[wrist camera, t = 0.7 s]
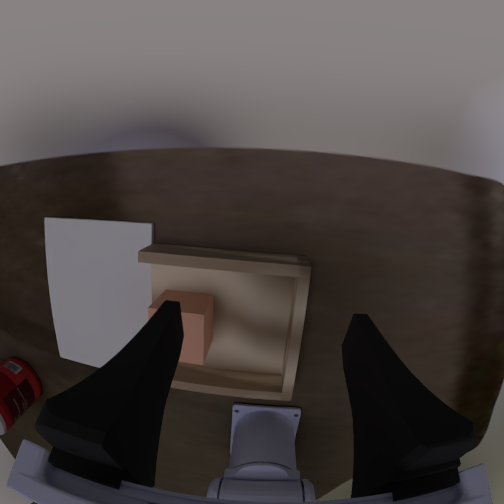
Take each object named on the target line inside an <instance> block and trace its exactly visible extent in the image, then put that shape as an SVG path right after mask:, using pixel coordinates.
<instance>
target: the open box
mask: <svg viewBox="0 0 504 504" xmlns="http://www.w3.org/2000/svg"><path fill="white" fill-rule="evenodd" d="M138 262H141V263H150V264H151V280H152V303H153V302H154V301H155V300H156V299H157V298H158V297H159V296H160V295H161V293H162V292H163V291H164V290H165V289H166V290H174V291H183V292H192V293H201V294H210V295H214V312H213V340H212V343H211V346H210V348H209V351H208V354H207V356H206V359H205V362H204V365H199V364H192V363H185V362H179V361H178V365H177V368H176V371H175V374H174V377H173V381H172V384H171V388H177V389H183V390H189V391H196V392H202V393H210V394H217V395H226V396H235V397H245V398H256V399H268V400H284V401H291V398H292V392H293V387H294V381H295V375H296V370H297V364H298V358H299V351H300V345H301V339H302V332H303V326H304V319H305V312H306V305H307V298H308V290H309V283H310V275H311V267H312V266H311V264H310V262H309V260H308V258H307V257H306V256H300V255H289V254H277V253H265V252H253V251H242V250H230V249H218V248H206V247H194V246H183V245H171V244H159V243H153V244H151V245H149V246H147V247H145V248H143V249H141V250H139V251H138Z"/></svg>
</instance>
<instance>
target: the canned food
mask: <svg viewBox="0 0 504 504" xmlns="http://www.w3.org/2000/svg"><path fill="white" fill-rule="evenodd" d="M40 394H41V384H40V381H39V379H38V377H37V375H36V373H35V372H34V371H33V369H32V368H31V367H30V366H29V365H28V364H27V363H25V362H24V361H23V360H21V359H19V358H10V359H8V360H6V361H5V362H4V363H2V364H1V365H0V435H3V434H4V433H5V432H6V431H7V430H8V429H9V428H10V427H11V426H12V425H13V424H14V423H15V422H16V421H17V420H18V419H19V418H20V417H21V416H22V415H23V414H24V412H25V411H26V410H27V409H28V408H29V407H30V406H31V405H32V404H33V403H34V402H35V401H36V400H37V399H38V398H39V396H40Z"/></svg>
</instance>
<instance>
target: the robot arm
mask: <svg viewBox="0 0 504 504" xmlns="http://www.w3.org/2000/svg"><path fill="white" fill-rule="evenodd" d="M183 339H184V330H183V322H182V315H181V307H180V302H179V301H170V300H165V301H164V302H163V303H162V304H161V306H160V307H159V308H158V309H157V311H156V312H155V313H154V314H153V316H152V317H151V318H150V319H149V320H148V322H147V323H146V324H145V325H144V326H143V327H142V328H141V330H140V331H139V332H138V333H137V334H136V335H135V336H134V337H133V338H132V339H131V340H130V341H129V342H128V343H127V344H126V345H125V346H124V347H123V348H122V349H121V350H120V351H119V352H118V353H117V354H116V355H115V356H114V357H113V358H111V359H110V360H109V361H108V362H107V363H106V364H104V365H103V366H102V367H100V368H99V369H98V370H97V371H95V372H94V373H93V374H91V375H90V376H88V377H87V378H85V379H84V380H82V381H81V382H79V383H77V384H76V385H74V386H73V387H71V388H69V389H67V390H66V391H64V392H62V393H59V394H57V395H55V396H53V397H51V398H49V399H47V400H46V402H45V404H44V405H43V407H42V410H41V412H40V414H39V417H38V419H37V421H36V424H35V428H36V430H37V432H38V433H39V434H40V435H41V436H42V437H43V438H44V439H45V440H46V441H48V442H49V443H50V444H51V445H52V446H53V448H52V451H51V452H50V451H48V450H47V449H45V448H43V447H41V446H38V445H36V444H34V443H32V442H30V441H28V440H26V439H24V440H23V441H22V444H21V446H20V449H19V451H18V454H17V457H16V459H15V462H14V465H13V467H12V471H11V473H10V476H9V479H8V482H7V487H9V488H10V489H12V490H14V491H15V492H17V493H19V494H21V495H22V496H24V497H26V498H28V499H30V500H31V501H33V502H35V503H37V504H493V502H492V497H491V492H490V488H489V483H488V479H487V475H486V470H485V466H484V464H479V465H477V466H474V467H471V468H468V469H466V470H463V471H461V472H459V473H458V469H457V467H459V466H460V464H461V463H460V459H459V458H460V457H462V456H463V455H464V454H466V453H467V452H468V451H470V450H471V449H472V448H473V447H474V446H475V445H476V444H477V442H478V437H477V433H476V430H475V427H474V424H473V422H472V421H470V420H468V419H467V418H465V417H464V416H462V415H460V414H459V413H457V412H456V411H454V410H453V409H451V408H450V407H449V406H447V405H446V404H445V403H443V402H442V401H441V400H440V399H438V398H437V397H436V396H435V395H434V394H433V393H432V392H430V391H429V390H428V389H427V388H426V387H425V386H424V385H423V384H422V383H421V382H420V381H419V380H418V379H417V378H416V377H415V376H414V375H413V374H412V373H411V372H410V370H409V369H408V368H407V367H406V366H405V365H404V363H403V362H402V361H401V360H400V359H399V357H398V356H397V355H396V353H395V352H394V351H393V349H392V348H391V347H390V345H389V344H388V343H387V341H386V340H385V339H384V337H383V336H382V334H381V333H380V332H379V330H378V329H377V327H376V326H375V324H374V323H373V322H372V320H371V319H370V317H369V316H368V315H367V314H354V315H353V317H352V320H351V323H350V326H349V328H348V331H347V334H346V336H345V339H344V341H343V344H342V356H343V367H344V373H345V378H346V383H347V388H348V393H349V399H350V404H351V409H352V417H353V434H354V467H353V483H352V495H351V498H350V499H342V500H330V501H315V491H314V487H313V484H312V483H310V482H309V480H308V479H301V481H300V471H299V470H296V455H295V437H296V433H297V428H298V424H299V420H300V415H301V409H300V408H295V407H275V406H261V405H249V404H239V403H236V404H234V405H233V411H232V428H231V445H230V454H231V455H230V462H229V468H228V469H225V473H224V479H223V477H216V478H215V479H214V480H213V481H211V483H210V485H209V488H208V492H207V497H200V496H194V495H187V494H181V493H176V492H170V491H165V490H160V489H155V488H152V487H153V486H154V485H155V472H156V461H157V453H158V445H159V438H160V431H161V425H162V419H163V414H164V408H165V404H166V400H167V397H168V393H169V390H170V387H171V384H172V381H173V377H174V374H175V371H176V368H177V365H178V361H179V358H180V354H181V349H182V344H183ZM236 410H239V411H236ZM295 414H298V415H295Z"/></svg>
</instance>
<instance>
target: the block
mask: <svg viewBox="0 0 504 504" xmlns="http://www.w3.org/2000/svg"><path fill="white" fill-rule="evenodd" d="M165 300H170V301H179V302H180V307H181V315H182V322H183V330H184V339H183V344H182V349H181V354H180V358H179V362H185V363H192V364H199V365H204V362H205V359H206V356H207V354H208V351H209V348H210V346H211V343H212V340H213V312H214V295H210V294H201V293H192V292H183V291H174V290H166V289H165V290H164V291H163V292H162V293H161V295H160V296H159V297H158V298H157V299H156V300H155V301H154V302H153V303H152V304H151V305H150V306H149V307H148V320H149V319H150V318H151V317H152V316H153V314H154V313H155V312H156V311H157V309H158V308H159V307H160V306H161V304H162V303H163V302H164V301H165Z"/></svg>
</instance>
